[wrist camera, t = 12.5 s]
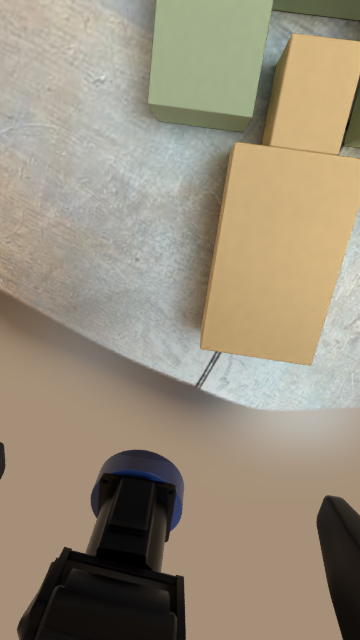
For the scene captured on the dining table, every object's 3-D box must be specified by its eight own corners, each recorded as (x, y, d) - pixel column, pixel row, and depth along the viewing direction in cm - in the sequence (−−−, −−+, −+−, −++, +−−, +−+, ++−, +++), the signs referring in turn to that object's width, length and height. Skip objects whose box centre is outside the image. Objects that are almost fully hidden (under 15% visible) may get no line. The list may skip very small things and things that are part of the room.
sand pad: (296, 343, 20) (311, 366, 17) (200, 329, 20) (199, 349, 17) (371, 75, 15) (408, 46, 13) (245, 59, 16) (254, 27, 13)
